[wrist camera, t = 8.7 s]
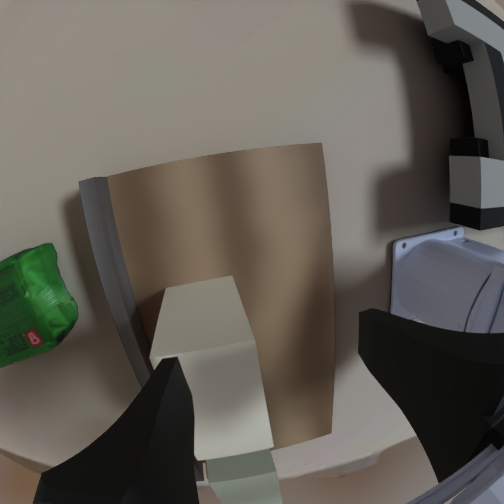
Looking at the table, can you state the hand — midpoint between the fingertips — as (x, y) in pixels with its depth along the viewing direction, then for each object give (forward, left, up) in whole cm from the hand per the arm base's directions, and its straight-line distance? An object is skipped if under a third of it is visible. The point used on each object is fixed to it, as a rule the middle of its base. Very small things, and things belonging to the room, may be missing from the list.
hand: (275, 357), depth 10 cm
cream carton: (+3, +4, -9) cm, 10 cm away
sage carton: (+3, +15, -9) cm, 18 cm away
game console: (-33, -11, -11) cm, 36 cm away
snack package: (+19, -1, -11) cm, 22 cm away
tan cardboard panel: (+1, +6, -10) cm, 12 cm away
